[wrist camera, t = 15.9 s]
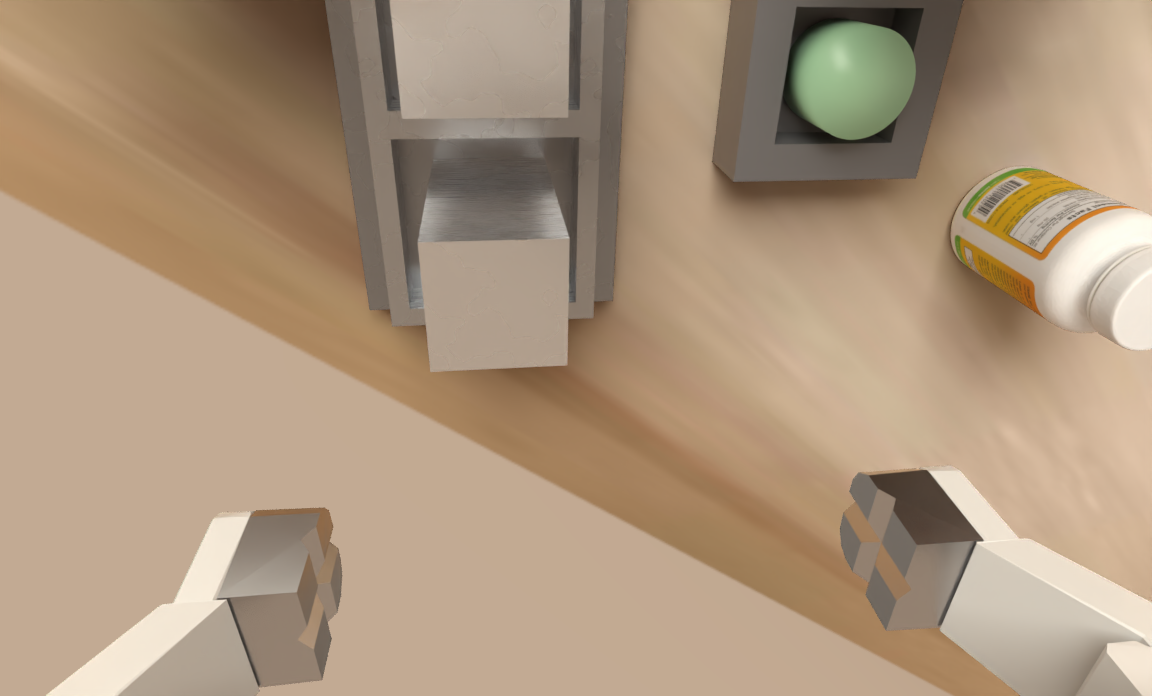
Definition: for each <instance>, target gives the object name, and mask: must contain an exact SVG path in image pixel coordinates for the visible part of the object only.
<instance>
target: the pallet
mask: <svg viewBox="0 0 1152 696" xmlns="http://www.w3.org/2000/svg"><path fill="white" fill-rule="evenodd" d="M325 5H326V12H327V19H328V26H329V33H330V40H331V47H332V53H333V60H334V67H335V74H336V81H337V88H338V95H339V102H340V109H341V116H342V122H343V129H344V136H345V143H346V150H347V157H348V164H349V171H350V178H351V185H352V191H353V198H354V205H355V212H356V219H357V226H358V233H359V240H360V247H361V254H362V261H363V267H364V274H365V281H366V288H367V295H368V302H369V309H370V310H386V309H390V313H391V321H392V326H415V325H426V322H425V312H424V302H423V292H422V282H421V271H420V261H419V251H418V238H419V232H420V227H421V222H422V216H423V211H424V205H425V200H426V195H427V189H428V184H429V178H430V173H431V168H432V162H433V159H467V158H545V161H546V165H547V168H548V171H549V174H550V177H551V181H552V184H553V187H554V190H555V193H556V197H557V200H558V203H559V206H560V209H561V213H562V216H563V219H564V222H565V226H566V229H567V232H568V235H569V238H570V241H569V300H568V319H584V318H594V301H613V285H614V265H615V246H616V226H617V206H618V187H619V167H620V147H621V128H622V108H623V88H624V69H625V49H626V29H627V10H628V0H325Z"/></svg>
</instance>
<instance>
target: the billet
mask: <svg viewBox="0 0 1152 696" xmlns="http://www.w3.org/2000/svg"><path fill="white" fill-rule="evenodd" d="M569 241H570V238H569V235H568V232H567V229H566V226H565V222H564V219H563V216H562V213H561V209H560V206H559V203H558V200H557V197H556V193H555V190H554V187H553V184H552V181H551V177H550V174H549V171H548V168H547V165H546V161H545V158H467V159H433V162H432V168H431V173H430V178H429V184H428V189H427V195H426V200H425V205H424V211H423V216H422V222H421V227H420V232H419V238H418V251H419V261H420V271H421V282H422V292H423V302H424V312H425V322H426V332H427V342H428V352H429V362H430V372H439V371H460V370H481V369H502V368H522V367H543V366H564V365H567V359H568V300H569Z"/></svg>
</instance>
